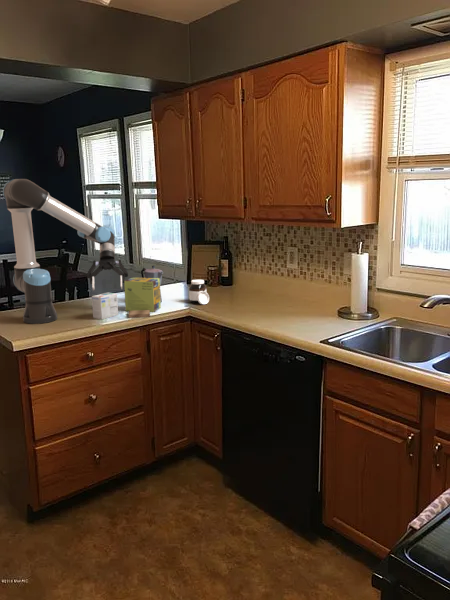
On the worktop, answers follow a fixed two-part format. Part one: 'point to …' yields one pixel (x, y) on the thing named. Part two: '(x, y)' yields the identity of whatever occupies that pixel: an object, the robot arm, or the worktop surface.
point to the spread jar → (198, 292)
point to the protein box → (142, 294)
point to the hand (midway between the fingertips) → (107, 288)
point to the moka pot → (153, 275)
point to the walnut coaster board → (139, 313)
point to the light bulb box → (104, 305)
